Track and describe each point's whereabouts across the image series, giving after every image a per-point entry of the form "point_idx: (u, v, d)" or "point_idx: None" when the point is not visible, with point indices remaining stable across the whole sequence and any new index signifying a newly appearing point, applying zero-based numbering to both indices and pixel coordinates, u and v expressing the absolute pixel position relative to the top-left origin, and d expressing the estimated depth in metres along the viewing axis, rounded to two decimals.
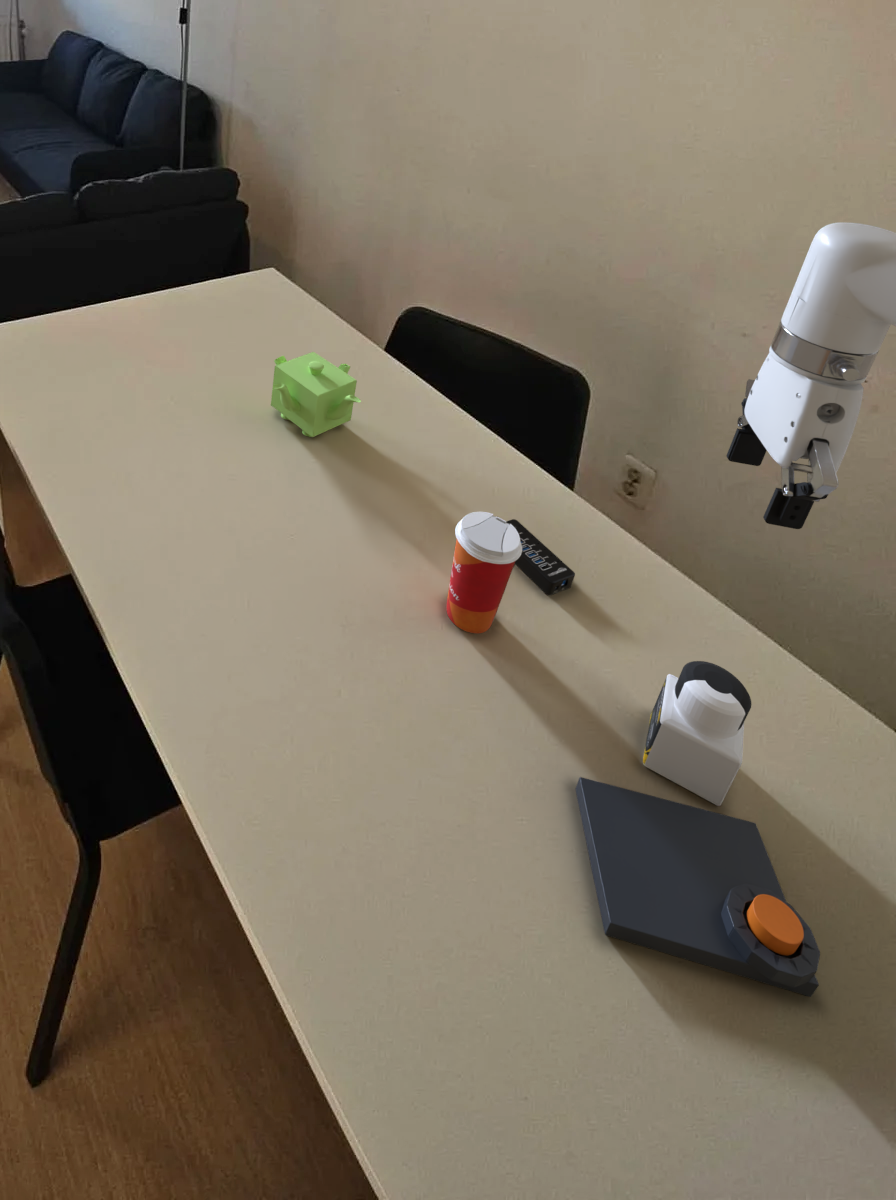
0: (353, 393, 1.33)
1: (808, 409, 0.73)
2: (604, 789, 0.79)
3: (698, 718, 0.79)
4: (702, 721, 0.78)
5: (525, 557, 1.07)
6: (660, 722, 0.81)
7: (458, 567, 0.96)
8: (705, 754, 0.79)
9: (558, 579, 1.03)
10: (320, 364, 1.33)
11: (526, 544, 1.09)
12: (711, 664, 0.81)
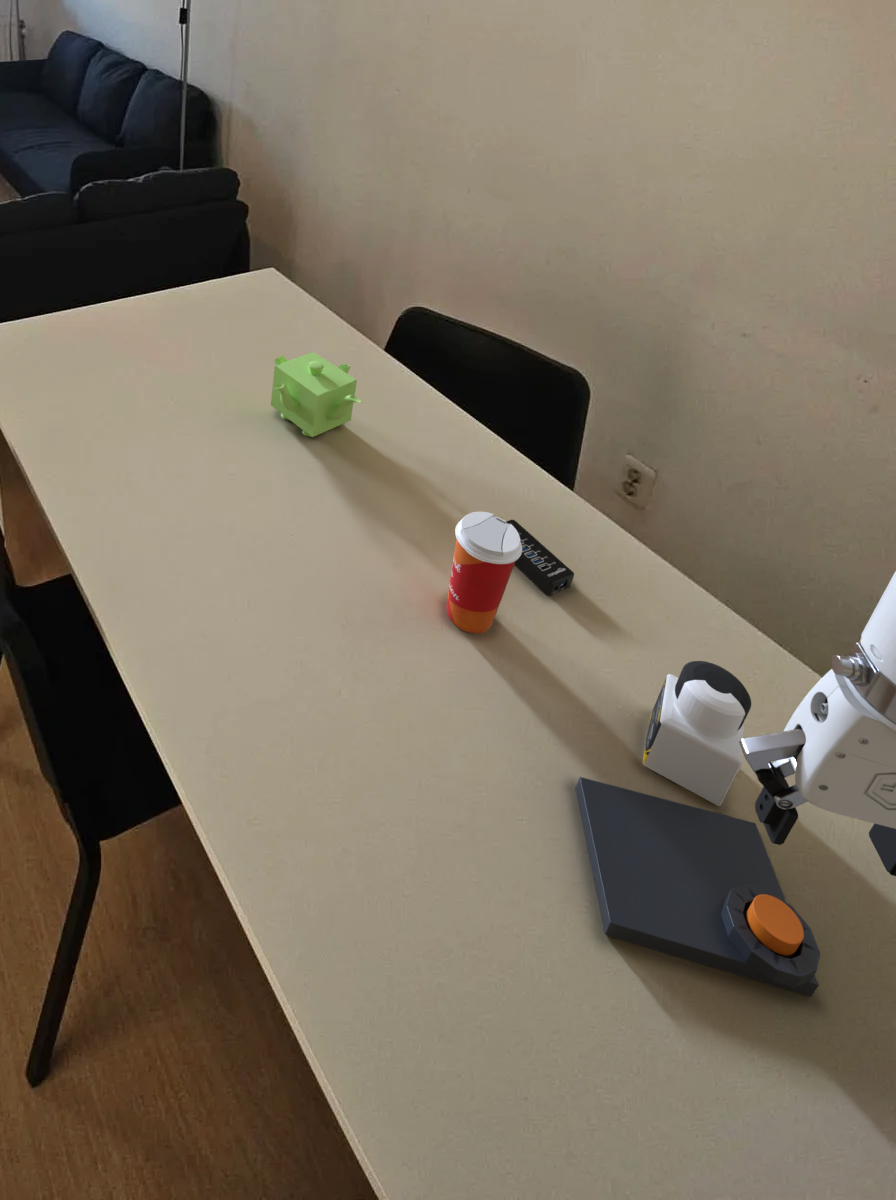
0: (353, 393, 1.33)
1: (812, 689, 0.59)
2: (604, 789, 0.79)
3: (698, 718, 0.79)
4: (702, 721, 0.78)
5: (524, 558, 1.06)
6: (660, 722, 0.81)
7: (458, 567, 0.96)
8: (705, 754, 0.79)
9: (557, 579, 1.03)
10: (320, 364, 1.33)
11: (525, 545, 1.09)
12: (711, 664, 0.81)
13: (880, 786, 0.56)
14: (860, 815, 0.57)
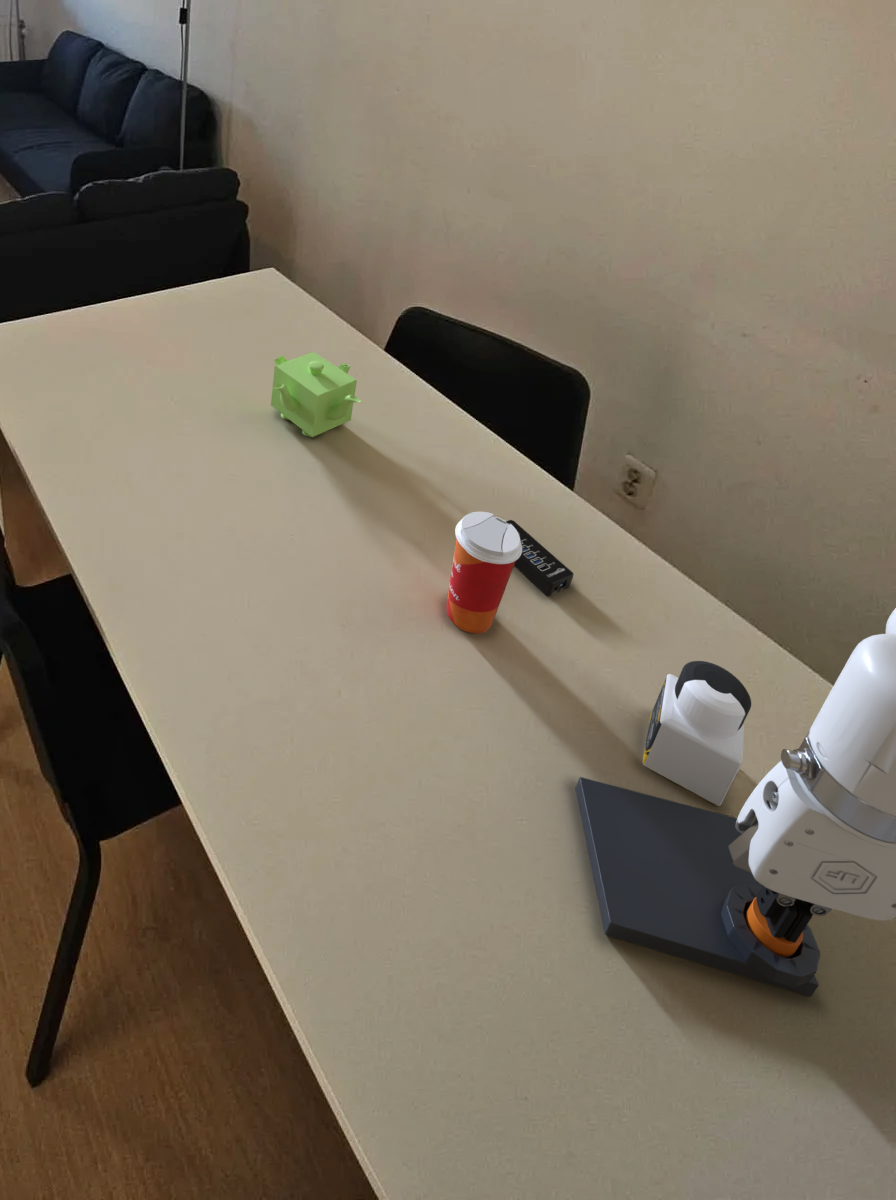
0: (353, 393, 1.33)
1: (765, 777, 0.64)
2: (604, 789, 0.79)
3: (698, 718, 0.79)
4: (702, 721, 0.78)
5: (524, 558, 1.06)
6: (660, 722, 0.81)
7: (458, 567, 0.96)
8: (705, 754, 0.79)
9: (557, 580, 1.03)
10: (320, 364, 1.33)
11: (524, 545, 1.09)
12: (711, 664, 0.81)
13: (825, 872, 0.60)
14: (807, 898, 0.61)
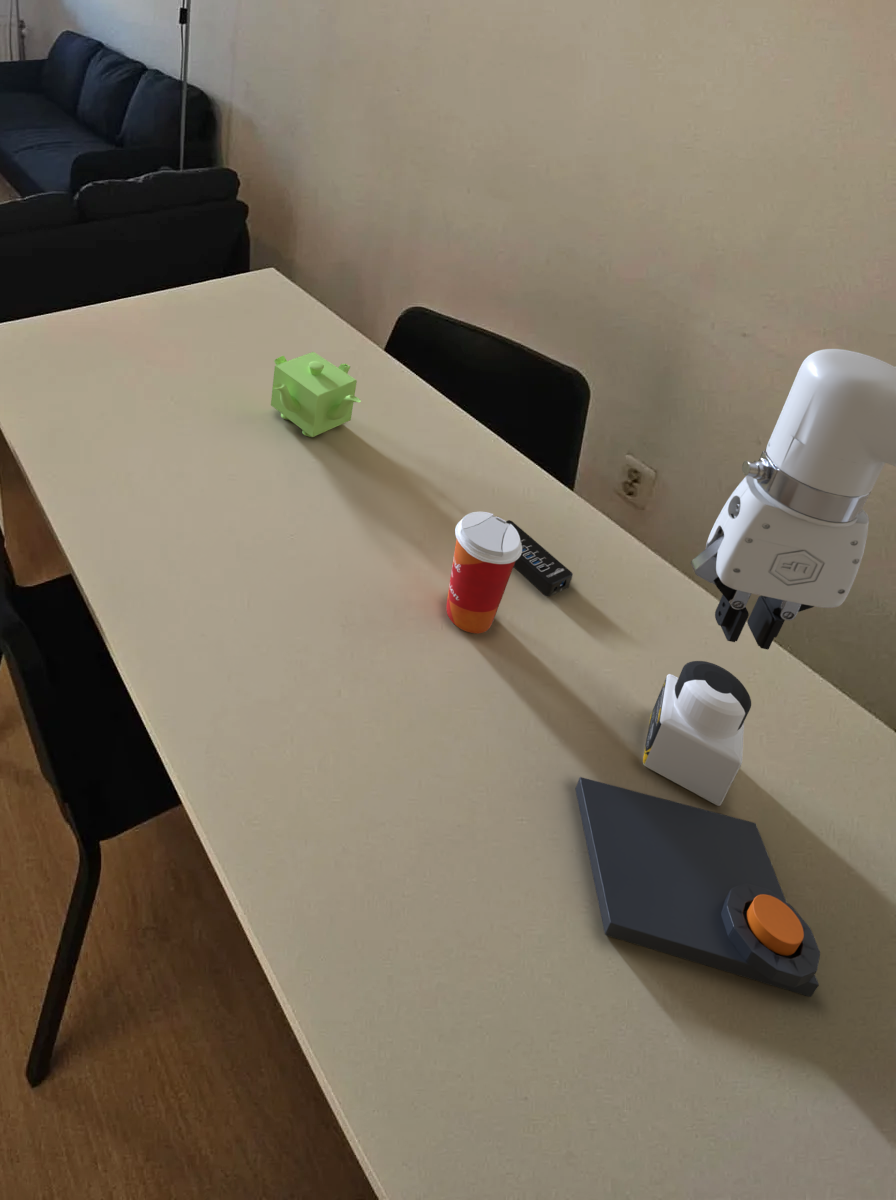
0: (353, 393, 1.33)
1: (730, 496, 0.73)
2: (604, 789, 0.79)
3: (698, 718, 0.79)
4: (702, 721, 0.78)
5: (523, 559, 1.06)
6: (660, 722, 0.81)
7: (458, 567, 0.96)
8: (705, 753, 0.79)
9: (557, 580, 1.03)
10: (320, 364, 1.33)
11: (523, 546, 1.08)
12: (711, 664, 0.81)
13: (781, 565, 0.70)
14: (766, 592, 0.71)
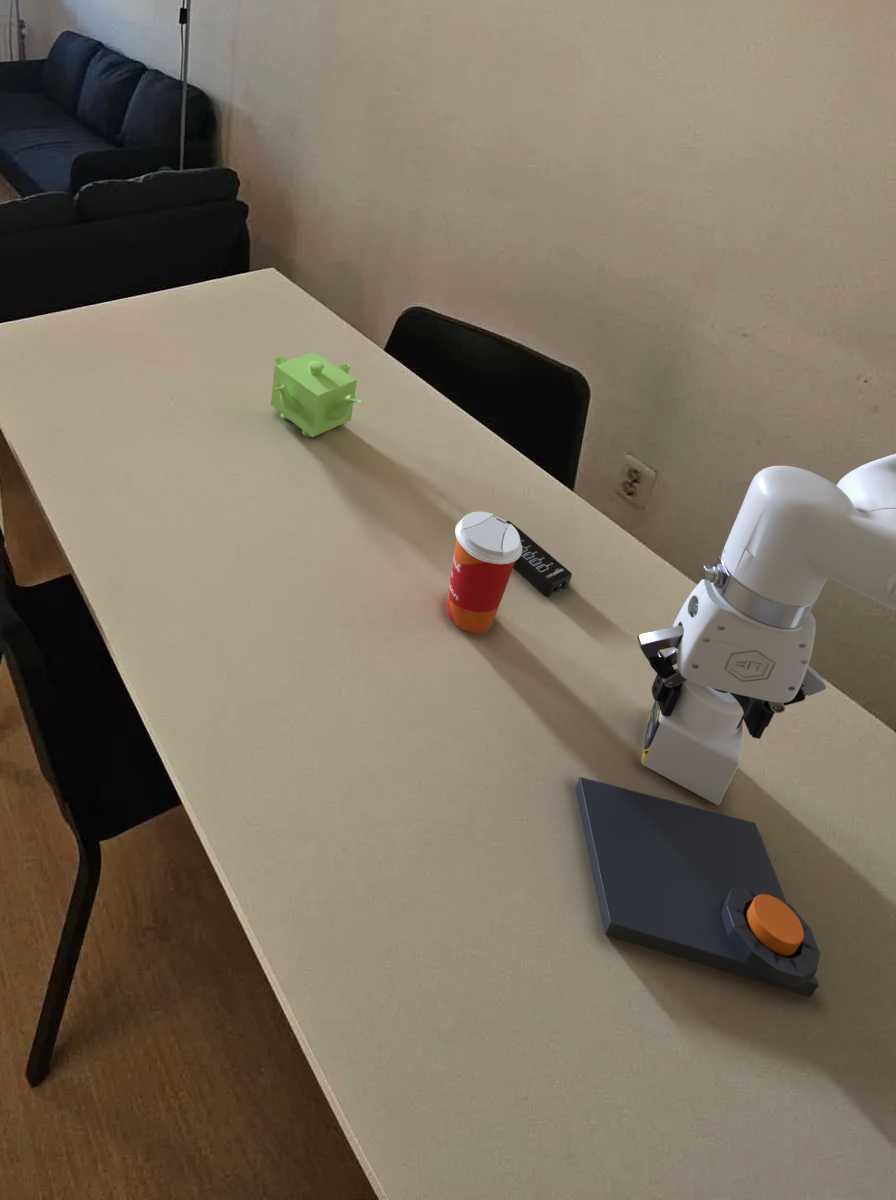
0: (353, 393, 1.33)
1: (690, 595, 0.78)
2: (604, 789, 0.79)
3: (696, 717, 0.79)
4: (700, 720, 0.79)
5: (522, 559, 1.06)
6: (659, 721, 0.81)
7: (458, 567, 0.96)
8: (703, 753, 0.79)
9: (556, 580, 1.03)
10: (320, 364, 1.33)
11: (522, 546, 1.08)
12: None
13: (735, 663, 0.75)
14: (723, 687, 0.76)
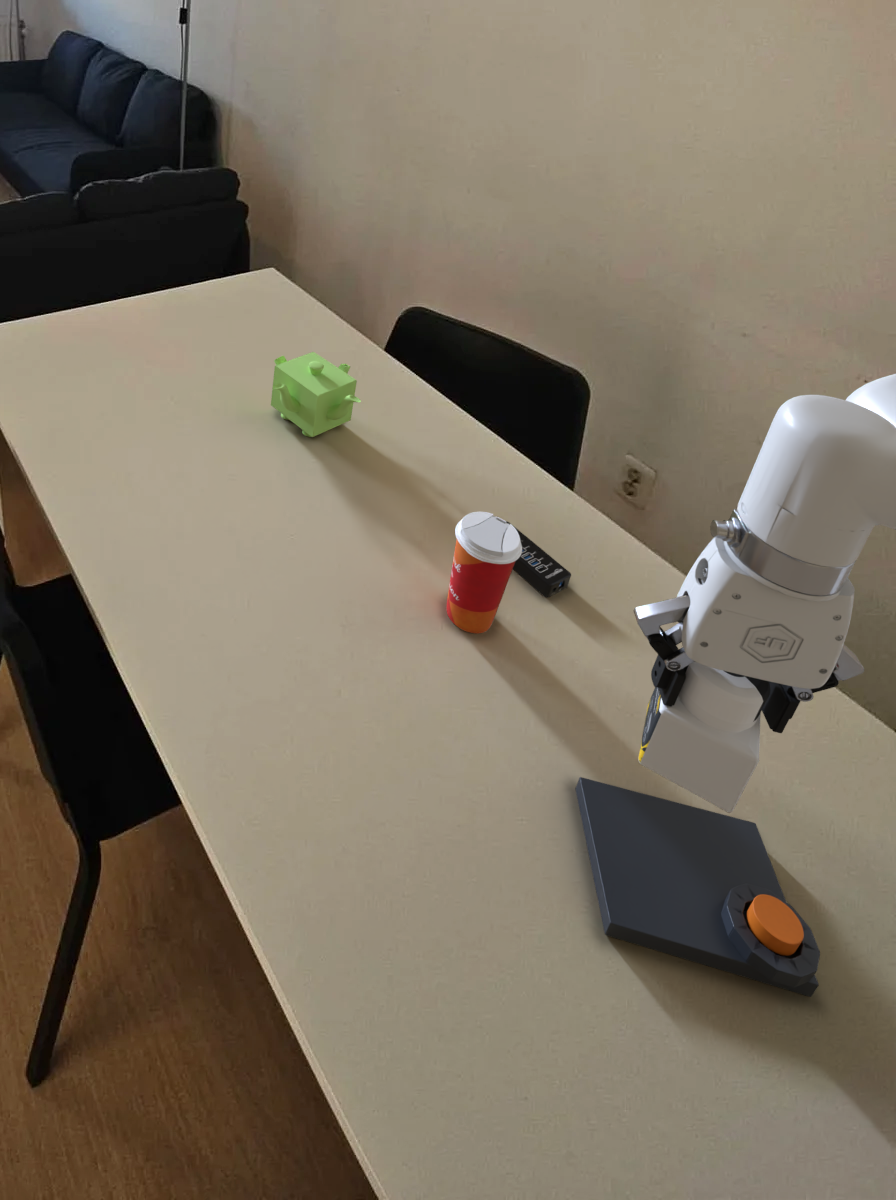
0: (353, 393, 1.33)
1: (698, 558, 0.64)
2: (604, 789, 0.79)
3: (705, 707, 0.65)
4: (710, 710, 0.65)
5: (521, 560, 1.06)
6: (659, 712, 0.67)
7: (458, 567, 0.96)
8: (713, 750, 0.65)
9: (556, 581, 1.03)
10: (320, 364, 1.33)
11: None
12: None
13: (754, 640, 0.61)
14: (738, 669, 0.62)
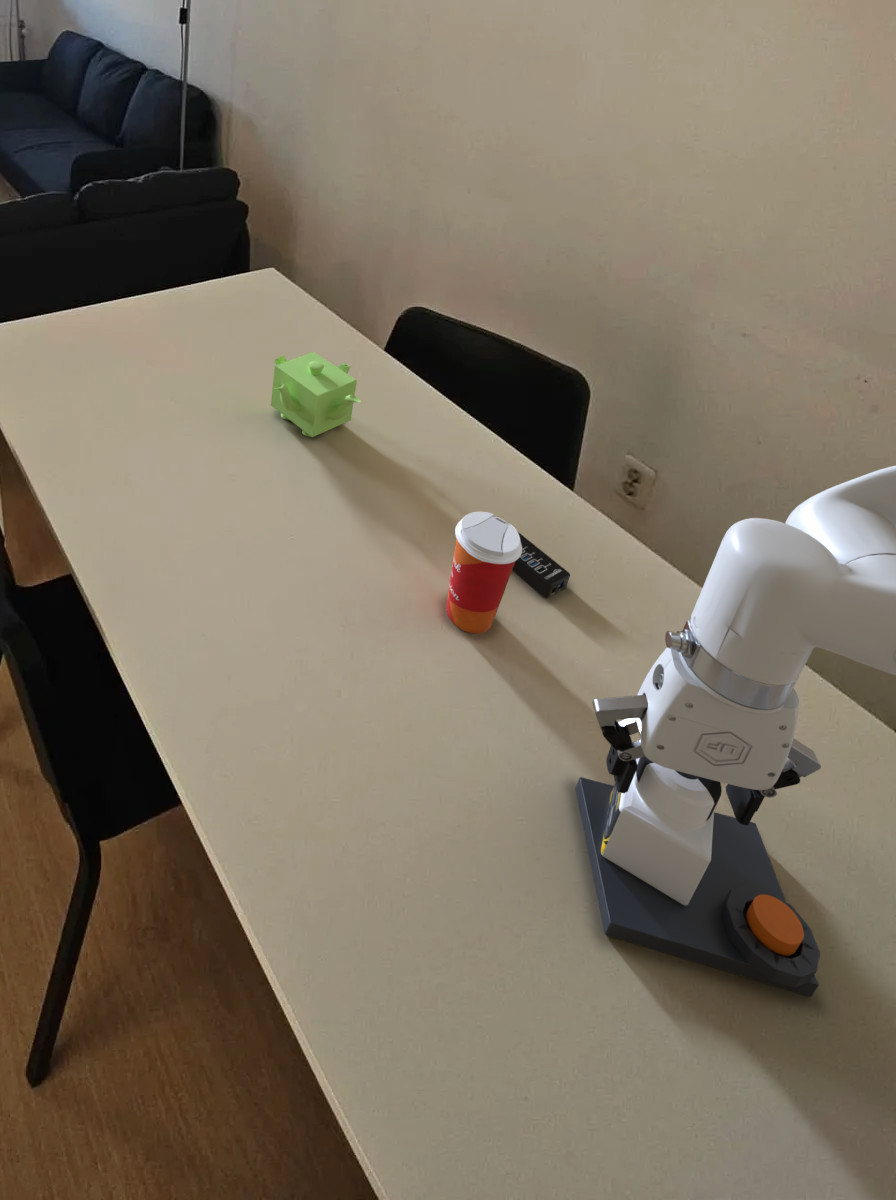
0: (353, 393, 1.33)
1: (655, 662, 0.68)
2: (604, 789, 0.79)
3: (661, 807, 0.69)
4: (665, 810, 0.69)
5: (520, 561, 1.06)
6: (619, 809, 0.71)
7: (458, 567, 0.96)
8: (669, 848, 0.69)
9: (555, 581, 1.03)
10: (320, 364, 1.33)
11: None
12: None
13: (706, 745, 0.65)
14: (692, 771, 0.66)
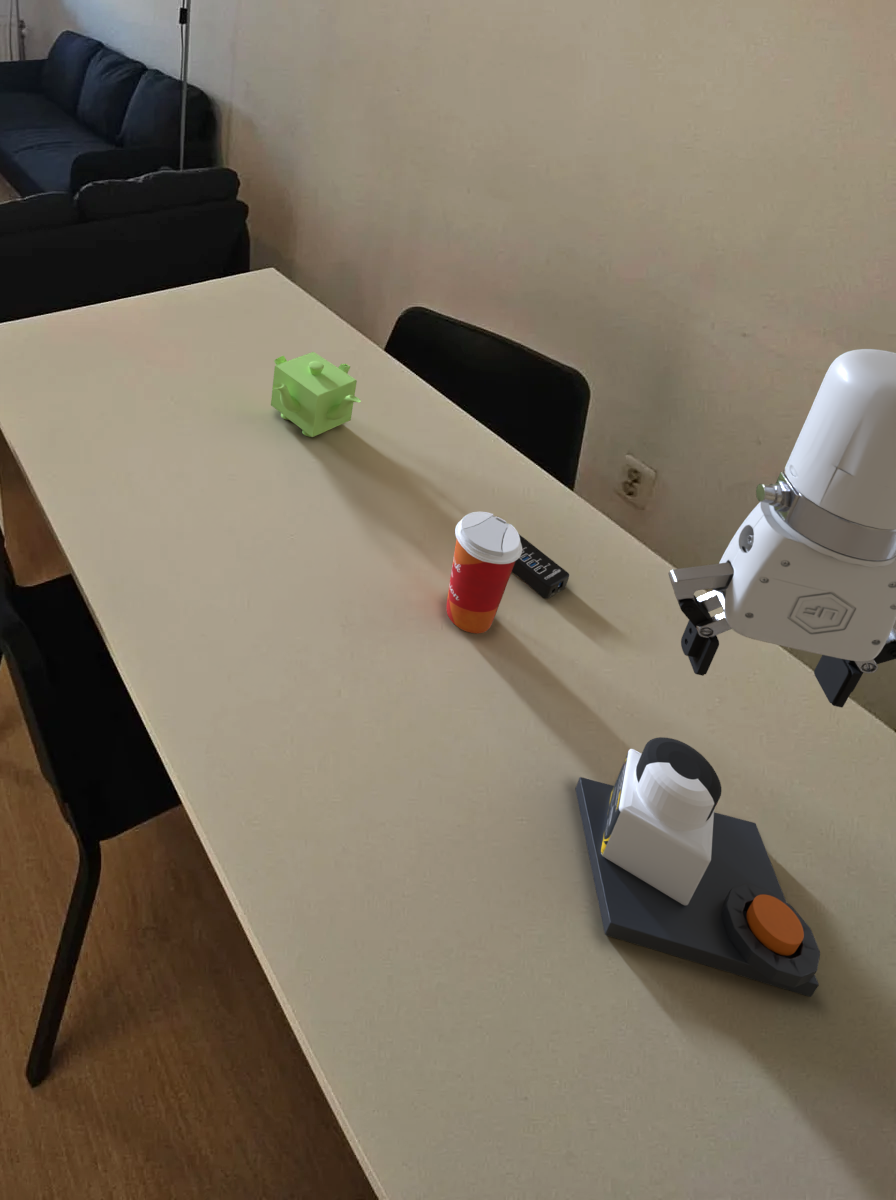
0: (353, 393, 1.33)
1: (741, 525, 0.61)
2: (604, 789, 0.79)
3: (661, 807, 0.69)
4: (665, 810, 0.69)
5: (520, 562, 1.06)
6: (619, 809, 0.71)
7: (458, 567, 0.96)
8: (669, 848, 0.69)
9: (555, 582, 1.03)
10: (320, 364, 1.33)
11: None
12: (677, 742, 0.72)
13: (803, 610, 0.58)
14: (785, 642, 0.59)
